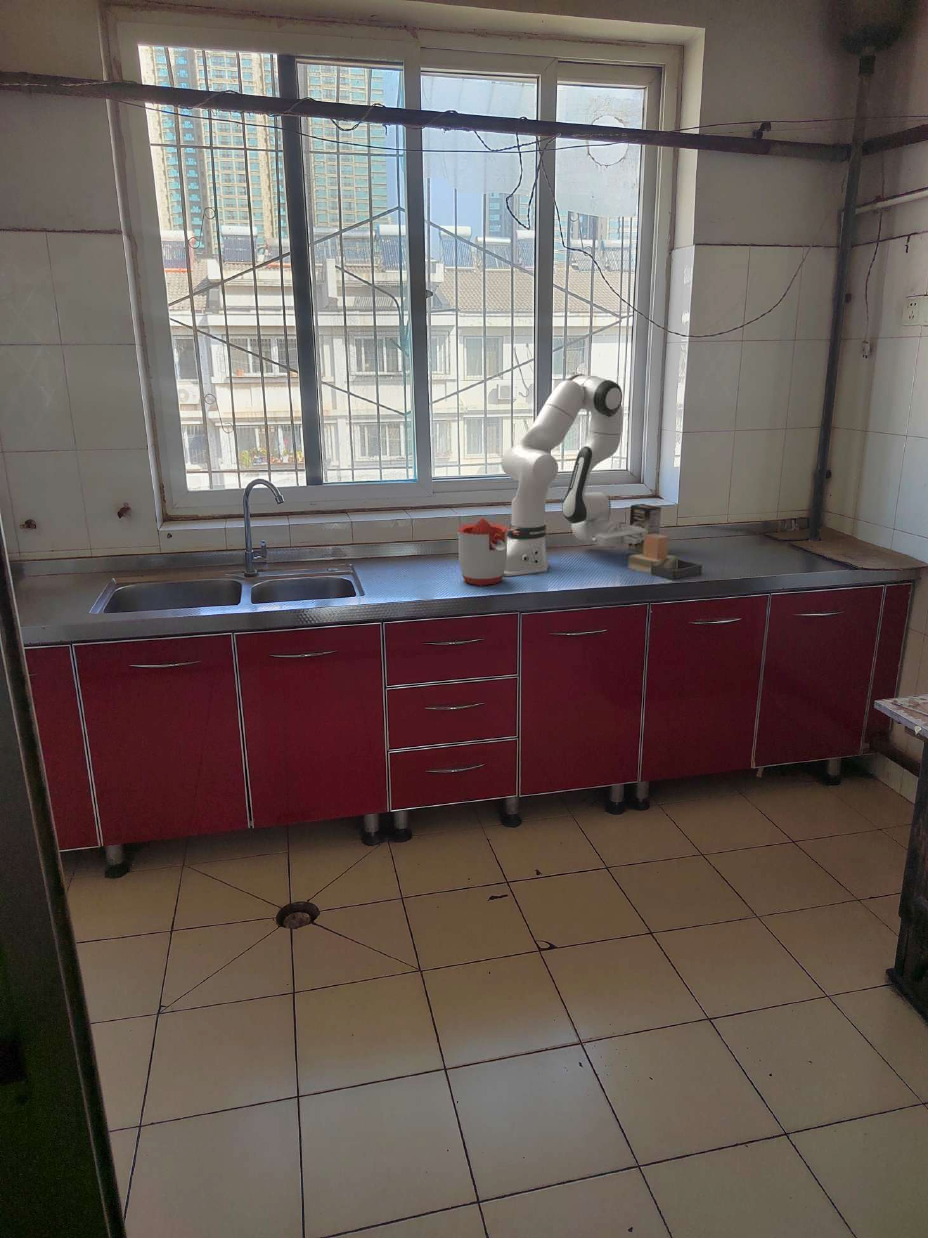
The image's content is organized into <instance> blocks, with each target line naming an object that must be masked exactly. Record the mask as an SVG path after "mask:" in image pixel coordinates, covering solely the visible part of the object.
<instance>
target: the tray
mask: <svg viewBox="0 0 928 1238" xmlns="http://www.w3.org/2000/svg"><path fill="white" fill-rule="evenodd" d="M702 566H703V565H702V564H700V563H696V562H691V561H687V560H684V559H680V558H677V564H676V567H675V568H670V569H666V568H662V567H658V566H655V565H651V574H652V575H651V574H650V575H651V576H654V575H655V576H654V577H658V576H659V577H660V578H662V579H665V578H666V579H665V580H670V581H673V580H674V581H678V580H682V579H681V578H683V579H686V577H687V578H691V577H695V575H696V576H699V574H700V575H702ZM690 576H691V577H690Z"/></svg>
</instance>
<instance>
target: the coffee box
mask: <svg viewBox="0 0 928 1238" xmlns="http://www.w3.org/2000/svg"><path fill="white" fill-rule="evenodd" d="M661 511H662V507H661V506H655V505H650V504H644V503H640V504H639V503H638V504H632V505H630V513H629V524H630V525H633V526H637V527H641V528H644V529H646V530H647V531H648V535H649V534H659V535H660V527H661V515H662V513H661ZM643 546H644V541H642V542H641V543H637V544H632V543H628V550H632V551H635V552H640V553H643Z"/></svg>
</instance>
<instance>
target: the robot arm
mask: <svg viewBox="0 0 928 1238" xmlns="http://www.w3.org/2000/svg"><path fill="white" fill-rule="evenodd" d="M622 401H623V391H622V388H621V386H620V385H619V384H618V383H617V382H615V381H613V380H609V379H606V378H602V377H599V376H597V375H590V374H589V375H587V374H586V375H585V374H582V373H580V374H574V375H572V376H570V377H569V378H567V379H565V380H562V381H561V382H560V383H558V385H557V386H556V387H555V388H554V390H553V391H552V392H551V394H550V395H549V397H548V398H547V399H546V401H545V403H544V404H543V406H542V408H541V409H540V411H539V413H538V415H537V417H536V418H535V420H534V422H533V423H532V425H531V426H530V427H529V429H528V430H527V431H526V432H525V433H524V434H523V435H522V437H521V438H520V439H519V440H518V441H517V442H516V443H515V444H514V445H513V446H512V447H510V448H508V449H507V450H505V452H504V453H503V455H502V457H501V461H500V464H501V465H500V466H501V470H502V471H503V472H504V473H505V474H506V475H507V476H508V477H509V478H510V479H512V480H515V481H518V488H517V491H516V495H515V496H514V497H513V499H512V500H511V522H510V523H511V524H510V525H509V527H508V530H507V561H506V567H505V571H504V575H503V577H505V576H506V577H512V576H519V575H529V574H535V573H543V572H547V571H548V568H549V567H550V564H549V562H548V557H547V556H548V555H547V549H546V536H547V525H546V503H547V496H548V494H549V493H548V492H549V489H550V486H551V484H552V483H553V481H554V480H555V479H556V477H557V476H558V472H559V465H558V460H556V458H555V457H554V456H553V455H551V454H550V452H552V451H553V449H555V448H556V447H559V445H561V443H563V441H564V440H565V438H566V436H567V434H568V432H569V431H570V430H571V427H572V426H573V424H574V422H575V421H576V418H577V416H578V414H579V412H580V411H581V410H585V411H587V412H590V420H589V421H590V422H589V427H588V432H587V436H586V440H585V441H584V444H583V446H582V448H581V449H579V451H578V453H577V455H576V459H575V463H574V465H573V470H572V473H571V478H570V481H569V485H568V488H567V492H566V494H565V495H564V499H563V500H562V502H561V503H562V504H561V512H562V514H563V517H564V518H565V519H566V520H567V521H568V522H569V523H570V524H571V532H572V534H573V535H574V537H576V538H577V539H579V540H581V541H583V542H586V543H590V544H595V545H597V546H599V547H603V548H613V547H617V546H621V545H629V543H632V544H637V543H641V542H642V541H644V535H648V531H647V530H646V529H644V528H641V527H637V526H633V525H630V522H615V521H610V517H611V516H610V515H611V510H612V509H611V508H612V506H611V504H612V503H611V500H610V498H609V496H608V495H607V494H606V493H605V492H603V491H592V492H586V490H587V486H588V482H589V478H590V474H591V472H592V470H593V469H594V468H595V467H596V466H597V465H599V464H600V463H602V462H603V461H605V460H607V459H609V458H610V457H612V456H613V455H615V453H616V452H617V451H618V449H619V446H620V443H621V437H622V431H623V421H624V420H623V405H622Z"/></svg>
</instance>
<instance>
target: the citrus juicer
mask: <svg viewBox="0 0 928 1238" xmlns="http://www.w3.org/2000/svg"><path fill="white" fill-rule="evenodd" d="M508 529H509V527H507V526H506V525H502V524H497V523H489V522H488V521H487V520H486V519H485V518H481V519H479V520H478V522H476V523H470V524H469V523H468V524H464V525H460V526H459V527H457V533H458V534H457V535H458V537H457V538H458V563H459V568H460V571H461V575H462V578H463V580H464V581H465V583H467V584H471V585H477V586H479V585H483V586H485V585H486V586H487V585H488V586H489V585H494V584H497V583H500V582H502V580H503V577H504V576H503V575H504V571H505V567H506V561H507V530H508Z"/></svg>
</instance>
